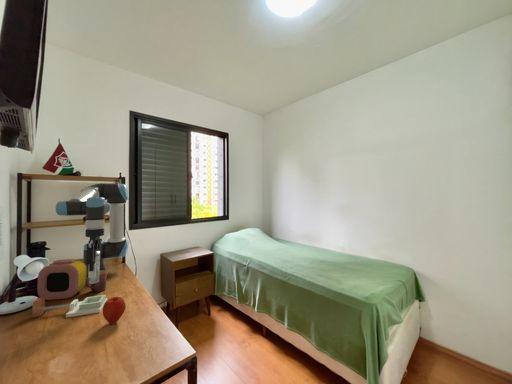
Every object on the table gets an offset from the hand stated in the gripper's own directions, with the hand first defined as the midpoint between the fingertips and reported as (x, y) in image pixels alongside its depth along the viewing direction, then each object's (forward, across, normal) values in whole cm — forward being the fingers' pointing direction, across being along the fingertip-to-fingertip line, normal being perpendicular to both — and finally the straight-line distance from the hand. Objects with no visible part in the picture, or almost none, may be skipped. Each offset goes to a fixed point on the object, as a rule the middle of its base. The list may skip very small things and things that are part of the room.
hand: (93, 275), depth 106 cm
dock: (+16, 0, -2) cm, 16 cm away
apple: (+16, +18, +13) cm, 27 cm away
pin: (+15, 0, -14) cm, 21 cm away
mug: (+16, -21, -5) cm, 27 cm away
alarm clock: (+16, -21, -20) cm, 33 cm away
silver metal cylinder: (+3, 0, 0) cm, 3 cm away
